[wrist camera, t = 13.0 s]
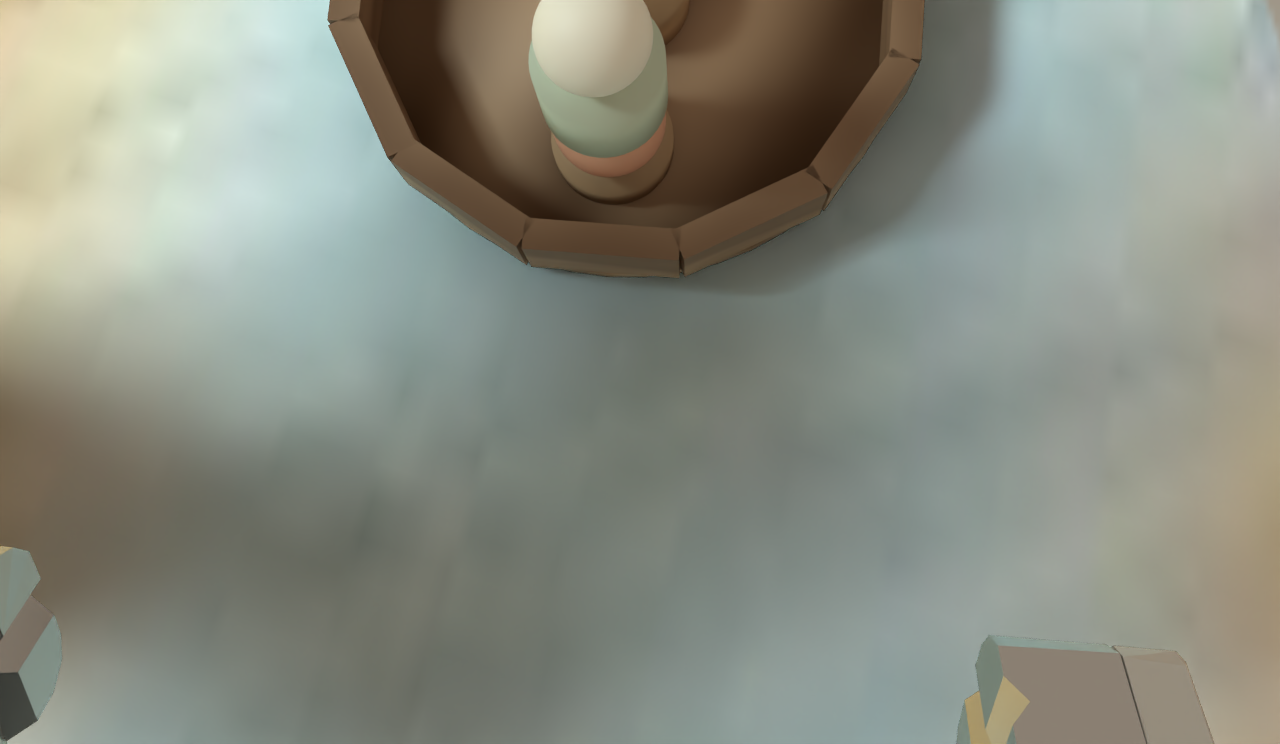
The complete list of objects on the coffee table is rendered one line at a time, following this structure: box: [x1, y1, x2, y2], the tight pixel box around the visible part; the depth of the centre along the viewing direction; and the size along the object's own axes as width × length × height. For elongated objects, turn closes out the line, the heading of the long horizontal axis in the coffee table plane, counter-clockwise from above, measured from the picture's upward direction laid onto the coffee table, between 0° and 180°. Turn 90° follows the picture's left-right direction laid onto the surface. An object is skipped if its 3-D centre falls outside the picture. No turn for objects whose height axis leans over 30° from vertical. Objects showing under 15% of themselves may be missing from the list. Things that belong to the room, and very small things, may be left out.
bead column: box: [528, 0, 674, 205], centre depth 36 cm, size 4×4×10 cm
